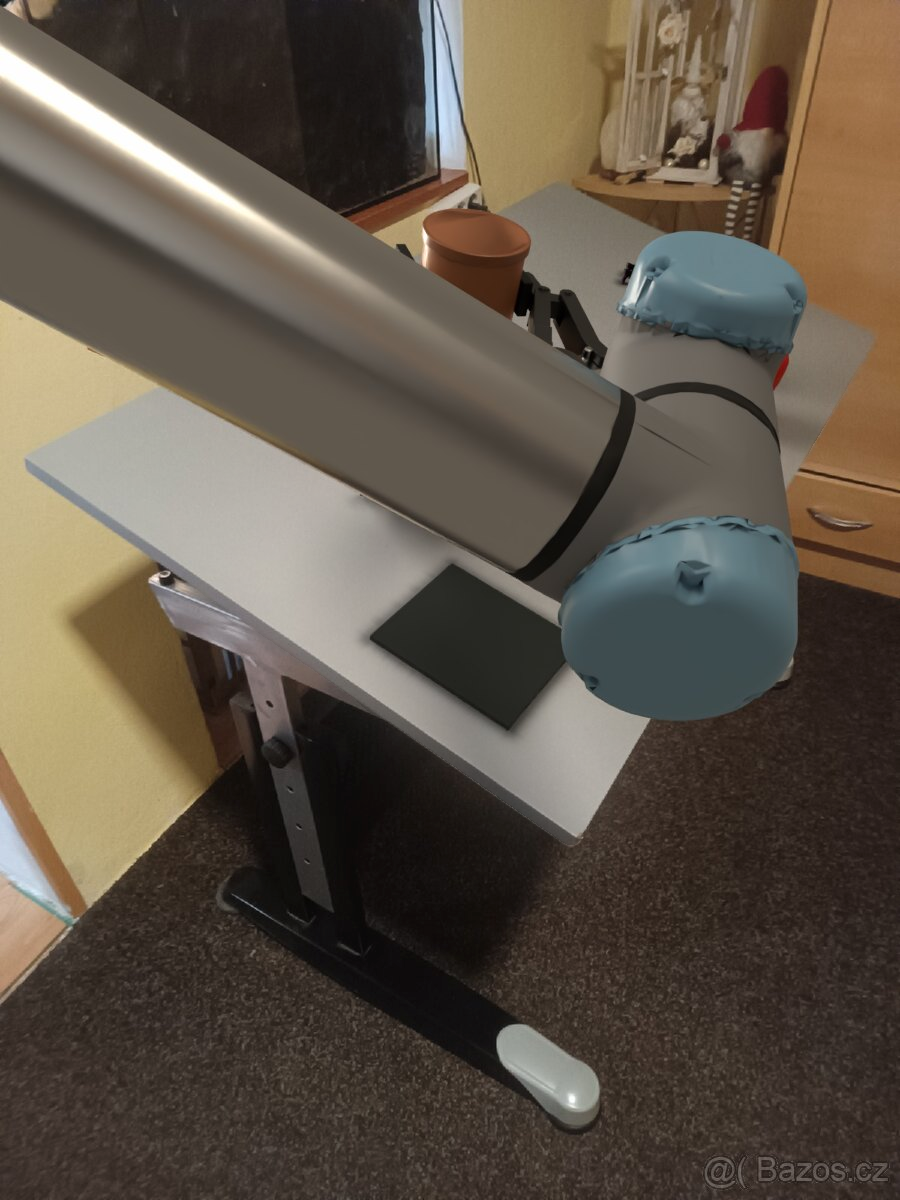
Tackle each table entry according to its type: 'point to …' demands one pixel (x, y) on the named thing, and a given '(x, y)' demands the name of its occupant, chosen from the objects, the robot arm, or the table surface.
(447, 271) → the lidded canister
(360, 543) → the table surface
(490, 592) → the mat
